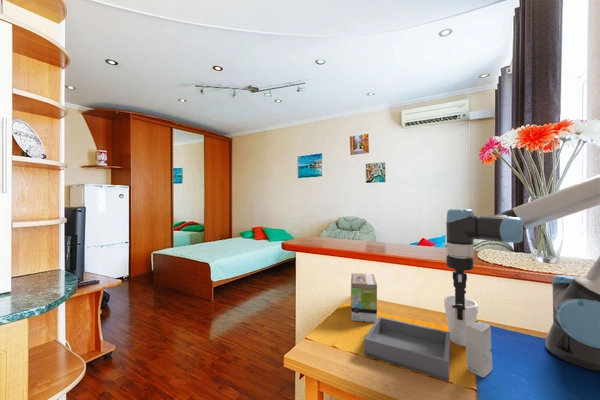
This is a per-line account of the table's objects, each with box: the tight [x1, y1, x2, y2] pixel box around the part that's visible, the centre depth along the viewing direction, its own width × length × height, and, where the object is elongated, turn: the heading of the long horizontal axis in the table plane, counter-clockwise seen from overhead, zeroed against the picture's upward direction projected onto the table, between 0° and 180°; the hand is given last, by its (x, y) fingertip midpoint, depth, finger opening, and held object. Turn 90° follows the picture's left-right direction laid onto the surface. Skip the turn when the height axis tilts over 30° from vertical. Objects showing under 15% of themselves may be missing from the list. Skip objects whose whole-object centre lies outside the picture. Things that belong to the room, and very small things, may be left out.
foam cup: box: [443, 295, 479, 347], centre depth 84 cm, size 10×9×13 cm
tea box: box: [350, 272, 378, 323], centre depth 105 cm, size 15×10×15 cm, turn 168°
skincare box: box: [465, 319, 493, 378], centre depth 70 cm, size 6×4×12 cm
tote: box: [363, 316, 451, 382], centre depth 78 cm, size 22×17×5 cm
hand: (459, 320), depth 84 cm, fingers open, 13 cm apart
